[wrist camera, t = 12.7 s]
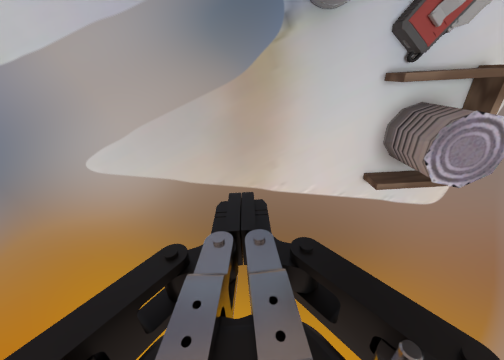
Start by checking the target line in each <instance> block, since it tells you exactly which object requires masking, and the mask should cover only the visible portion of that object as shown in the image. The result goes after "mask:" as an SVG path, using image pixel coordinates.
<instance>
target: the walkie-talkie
mask: <svg viewBox="0 0 504 360" xmlns="http://www.w3.org/2000/svg"><path fill="white" fill-rule="evenodd" d="M491 1H492V0H414V2H413V3H411V4H410V7H408V8H407V10H405V11H404V13H403V14H402V15H401V17H399V18H398V20H397V21H396V23H395V24H393V28H392V32H393V33H394V35H395V36H396V37H397V38H398V40H399V41H400V42H401V43H402V45H403V46H404V47H405V49H406V50H407V51H408V52H409V54H408V56H407V60H408V62H414V61H416V60H418V59H419V57H420V56H421V55H422V54H423V53H425V52H426V51H427V50H429V49H430V47H431V46H433V44H434V43H436V41H437V40H438V39H439V38H440V37H441V36H442V35H444V34H445V33H448V32H450V31H451V30H452V29H453V28H454V27H458V26H461V25H464V24H467V23H469V22H470V21H471V20H472V19H473V18H474V17H475V16H476V15H477V14H478V13H479V12H480V11H481V10H482V9H483V8H484V7H485V6H486V5H487V4H489V3H490V2H491ZM413 54H418V55H417V56H416V57H415V58H414V59H412V58H411V56H412V55H413Z"/></svg>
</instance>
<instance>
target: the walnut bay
mask: <svg viewBox="0 0 504 360" xmlns="http://www.w3.org/2000/svg"><path fill="white" fill-rule="evenodd" d="M466 78H474V80H473V83H472V85H471V88H470V90H469V93H468V95H467V98H466V101H465V103H464V106H463V108H462V109H465V110H471V111H476V110H477V111H481V112H486V113H490V114H495V115H496V114H497V112H498V110H499V108H500V106H501V103H502V101H503V99H504V65H480V66H479V67H478V68H472V69H453V70H434V71H415V72H397V73H386V77H385V81H398V82H410V81H428V80H447V79H466ZM363 179H365V180H366V181H367V182H368V183H369V184H370V185H371V186H372V187H374V188H375V189H376V190H383V189H400V188H418V187H436V186H448V185H443V184H438V183H433V182H432V181H431V178H429V177H427V176H426V175H424V174H422V173H420V172H419V171H399V172H381V173H364V178H363Z"/></svg>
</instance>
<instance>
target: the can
mask: <svg viewBox="0 0 504 360" xmlns="http://www.w3.org/2000/svg"><path fill="white" fill-rule="evenodd" d="M383 143H384V145H385V147H386V149H387V151H388V153H389V155H390V156H392V157H394V158H396V159H397V160H399V161H401V162H403V163H404V164H406V165H408V166H410V167H411V168H413V169H415V170H417V171H419V172H420V173H422V174H424V175H426V176H427V177H429V178H431V181H432V182H433V183H438V184H443V185H448V186H453V187H458V188H460V187H462V186H465V185H467V184H469V183H472V182H474V181H476V180H478V179H481V178H483V177H485V176H487V175H490V174H492V173H493V171H494V170H495V169H496V167H497V166H498V165H499V163H500V162H501V160H502V159H503V158H504V116H499V115H495V114H490V113H486V112H481V111H477V110H476V111H471V110H465V109H459V108H453V107H447V106H441V105H435V104H429V103H423V102H421V103H418V104H415V105H413V106H410V107H407V108H404V109H402V110H401V111H400V112H399V113H398V114H397V115H396V116H395V118H394V119H393V120H392V121H391V122H390V123H389V124H388V125H387V129H386V133H385V137H384V141H383Z"/></svg>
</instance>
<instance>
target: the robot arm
mask: <svg viewBox="0 0 504 360" xmlns="http://www.w3.org/2000/svg"><path fill="white" fill-rule="evenodd" d="M311 1H312V3H314V4H315V5H317V6H318V7H321V8H324V9H332V8H337V7H339V6H341V5H343V4H345V3H346V2H348V1H350V0H311ZM243 259H244V265H247V272H248V284H249V294H250V303H251V313H252V315H249V316H246V317H243V318H240V319H233V314H234V305H235V297H236V288H237V280H238V277H237V275H238V265H243ZM164 286H165V288H164V289H163V290H162V291H161V292H160V293H158V294H157V295H156V296H155V297H154V298H153V299H151V300H150V301H149V302H148V303H147V304H146V305H145V306H143V307H142V308H141V306H142V305H143V304H144V303H145V302H147V301H148V300H149V299H150V298H151V297H153V296H154V295H155V294H156V293H157V292H158V291H160V290H161V289H162V288H163V287H164ZM295 299H296V300H297V301H298V302H299V303H301V304H302V305H303V306H304V307H305V308H306V309H307V310H308V311H309V312H310V313H311V314H313V315H314V316H315V317H316V318H317V319H318V320H319V321H320V322H321V323H322V324H323V325H325V326H326V327H327V328H328V329H329V330H330V331H331V332H332V333H333V334H334V335H335V336H337V337H338V338H339V339H340V340H341V341H342V342H343V343H344V344H345V345H346V346H347V347H348V348H350V349H351V350H352V351H353V352H354V353H355V354H356V355H357V356H358V357H359V358H360V359H361V360H500V359H499V358H498V357H497V356H496V355H495V354H494V353H493V352H492V351H491V350H489V349H488V348H487V347H486V346H484V345H483V344H481V343H480V342H478V341H477V340H475V339H474V338H472V337H470V336H469V335H467V334H466V333H464V332H462V331H461V330H459V329H457V328H456V327H454V326H453V325H451V324H449V323H448V322H446V321H444V320H443V319H441V318H440V317H438V316H436V315H435V314H433V313H432V312H430V311H428V310H427V309H425V308H424V307H422V306H420V305H418V304H417V303H415V302H414V301H412V300H411V299H409V298H407V297H406V296H404V295H402V294H401V293H399V292H398V291H396V290H394V289H393V288H391V287H390V286H388V285H386V284H385V283H383V282H382V281H380V280H378V279H377V278H375V277H373V276H372V275H370V274H369V273H367V272H365V271H364V270H362V269H361V268H359V267H357V266H356V265H354V264H352V263H351V262H349V261H348V260H346V259H344V258H342V257H341V256H340V255H338V254H336V253H335V252H333V251H331V250H330V249H328V248H326V247H325V246H323V245H322V244H320V243H319V242H317V241H315V240H313V239H311V238H307V237H300V238H297V239H295V240H293V241H292V243H286V242H282V241H279V240H277V239H276V238H275V237H274V236H273V235H272V233H271V228H270V222H269V216H268V210H267V204H266V203H265V202H264V201H263V200H262V199H260V200H254V194H253V192H243V193H242V197H241V193H230V194H229V199H228V201H224V202H221V203H220V204H219V205H218V206H217V208H216V214H215V218H214V222H213V227H212V232H211V235H209V236H208V237H207V238H206V239H205V241H204V244H203V245H201V246H199V247H196V248H193V249H190V250H187V248H186V247H185V246H184V245H181V244H172V245H169V246H167V247H165V248H163V249H162V250H160V251H159V252H157V253H156V254H155V255H153V256H152V257H150V258H149V259H147V260H146V261H145V262H143V263H142V264H140V265H139V266H137V267H136V268H134V269H133V270H132V271H130V272H129V273H127V274H126V275H124V276H123V277H121V278H120V279H119V280H117V281H116V282H114V283H113V284H111V285H110V286H109V287H107V288H106V289H104V290H103V291H101V292H100V293H99V294H97V295H96V296H94V297H93V298H91V299H90V300H88V301H87V302H86V303H84V304H83V305H81V306H80V307H78V308H77V309H76V310H74V311H73V312H71V313H70V314H68V315H67V316H66V317H64V318H63V319H61V320H60V321H58V322H57V323H56V324H54V325H53V326H52V327H50V328H48V329H47V330H46V331H44V332H43V333H41V334H40V335H38V336H37V337H36V338H34V339H33V340H31V341H30V342H28V343H27V344H25V345H24V346H23V347H21V348H20V349H18V350H17V351H15V352H14V353H13V354H11V355H10V356H8V357H7V358H6V359H4V360H136V359H137V358H138V357H139V356H140V355H141V354H142V353H143V352H144V350H146V349H147V348H148V346H150V344H152V343H153V341H154V340H155V339H156V338H157V337H158V336H159V335H160V334H161V333H162V332H163V331H164V330H165V329H166V328H167V329H166V332H165V334H164V335H163V336H162V337H160V338H159V339H158V340H157V341H156V342H155V343H154V344H153V345H152V346H151V347H150V348H149V349H148V350H147V351H146V352H145V353H144V354H143V355H142V357H141V358H140V359H139V360H345V358H344V357H343V356H342V355H341V354H340V353H339V352H338V351H336V349H335V348H334V347H333V346H331V344H330V343H329V342H328V341H327V340H326V339H325V338H324V337H323V336H322V335H321V334H320V333H319V332H317V331H316V330H315V329H314V328H312V327H311V326H309V325H307V324H306V323H304V322H302V321H301V318H300V315H299V311H298V308H297V305H296V301H295ZM140 308H141V309H140ZM139 309H140V310H139Z"/></svg>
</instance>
